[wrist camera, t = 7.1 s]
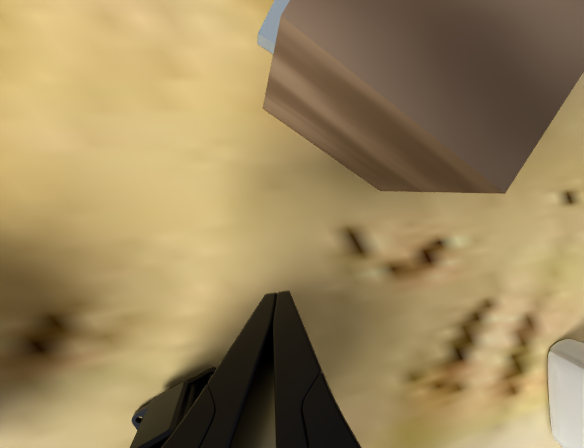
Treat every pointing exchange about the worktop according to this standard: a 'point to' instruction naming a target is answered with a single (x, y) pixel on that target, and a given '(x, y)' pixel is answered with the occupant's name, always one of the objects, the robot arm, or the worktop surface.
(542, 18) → the walnut box
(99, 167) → the worktop surface
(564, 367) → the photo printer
